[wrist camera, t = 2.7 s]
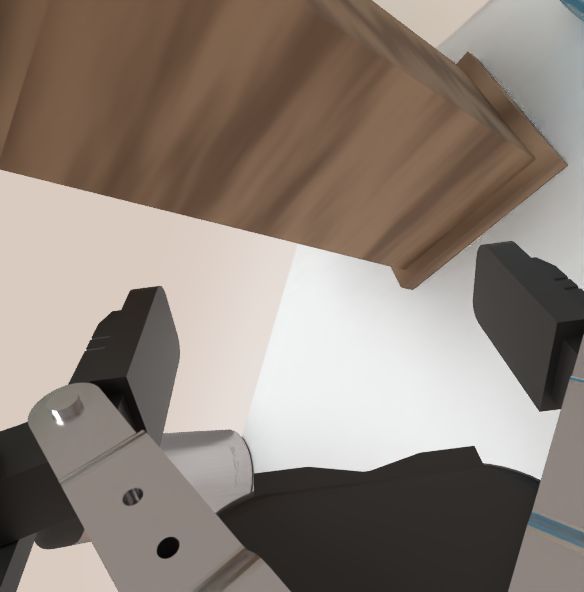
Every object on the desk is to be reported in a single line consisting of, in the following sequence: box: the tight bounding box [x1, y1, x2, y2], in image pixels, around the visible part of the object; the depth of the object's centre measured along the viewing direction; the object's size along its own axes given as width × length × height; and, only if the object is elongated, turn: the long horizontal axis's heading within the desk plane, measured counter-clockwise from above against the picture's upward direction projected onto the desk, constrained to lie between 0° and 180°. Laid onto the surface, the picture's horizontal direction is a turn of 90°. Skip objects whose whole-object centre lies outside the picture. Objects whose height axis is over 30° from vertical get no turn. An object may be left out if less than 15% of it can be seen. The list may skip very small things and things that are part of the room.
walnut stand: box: [0, 0, 567, 290], centre depth 29 cm, size 12×14×32 cm
